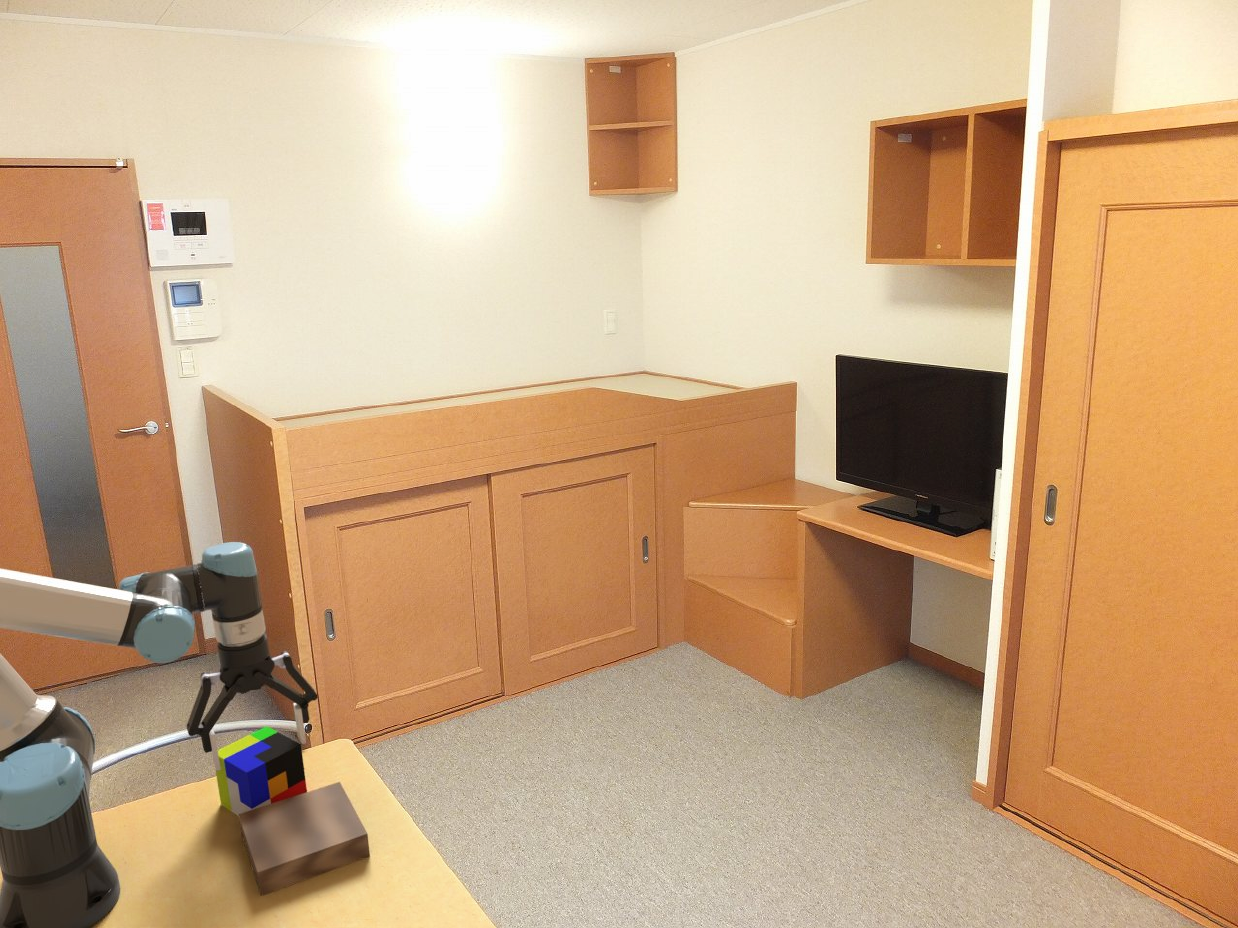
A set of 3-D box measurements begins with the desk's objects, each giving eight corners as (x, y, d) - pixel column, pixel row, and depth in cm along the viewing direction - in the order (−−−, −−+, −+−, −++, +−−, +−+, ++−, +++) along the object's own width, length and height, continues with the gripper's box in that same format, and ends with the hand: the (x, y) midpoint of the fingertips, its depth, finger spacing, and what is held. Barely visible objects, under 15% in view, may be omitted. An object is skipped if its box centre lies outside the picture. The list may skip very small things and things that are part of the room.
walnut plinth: (261, 895, 134) (257, 872, 133) (241, 835, 148) (238, 814, 147) (369, 855, 142) (367, 833, 141) (342, 802, 156) (339, 781, 155)
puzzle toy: (254, 826, 150) (246, 772, 148) (221, 804, 156) (212, 752, 153) (307, 796, 158) (300, 744, 155) (273, 776, 164) (266, 726, 161)
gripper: (159, 667, 140) (182, 789, 146) (325, 625, 152) (341, 739, 158) (154, 649, 146) (176, 766, 152) (314, 610, 158) (330, 720, 164)
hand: (260, 753), depth 155 cm, fingers open, 13 cm apart
